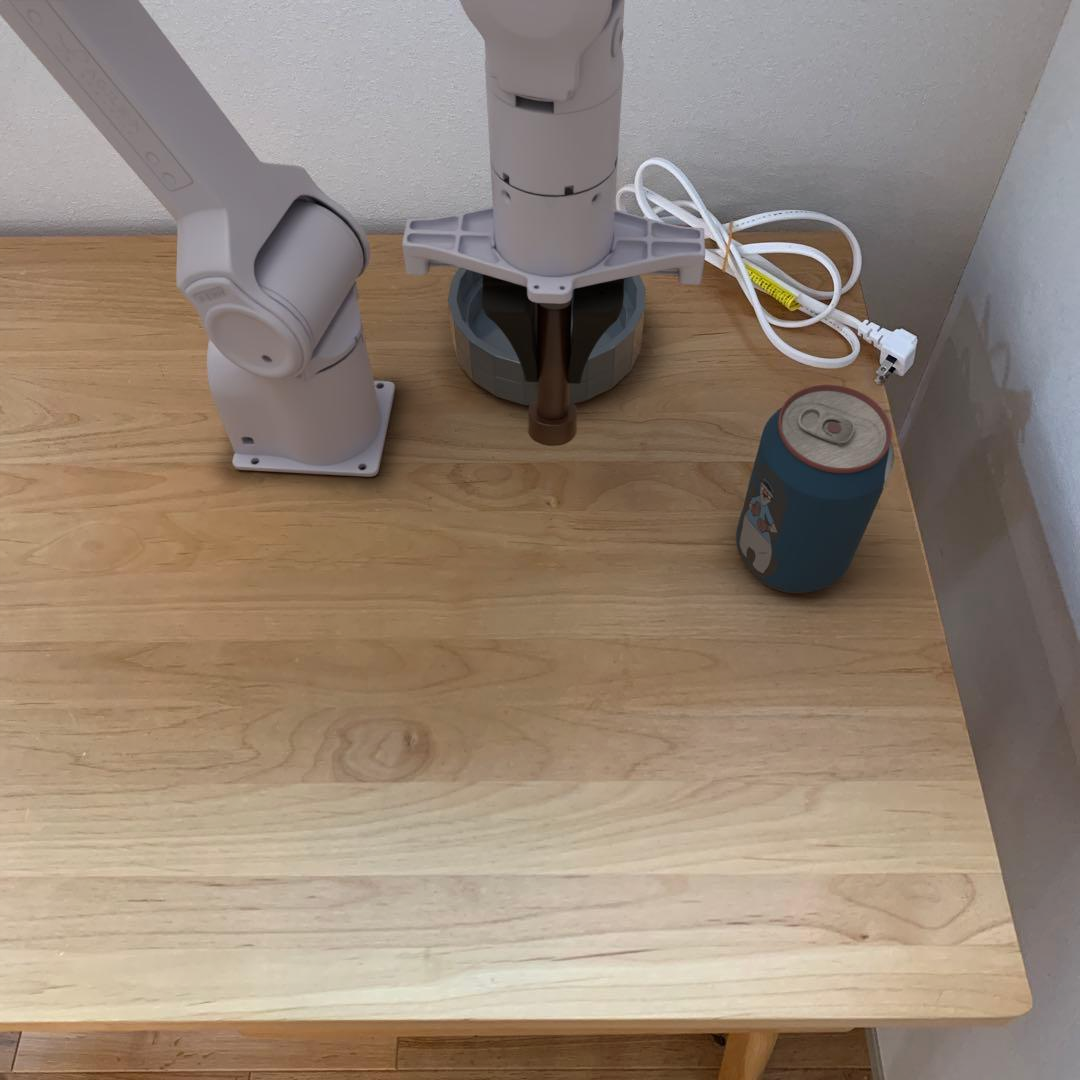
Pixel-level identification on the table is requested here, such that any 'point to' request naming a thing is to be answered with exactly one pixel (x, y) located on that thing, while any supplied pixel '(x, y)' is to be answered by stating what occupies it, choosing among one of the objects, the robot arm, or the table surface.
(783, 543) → the soda can
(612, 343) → the bowl
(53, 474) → the table surface
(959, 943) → the table surface
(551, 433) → the muddler
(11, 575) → the table surface
